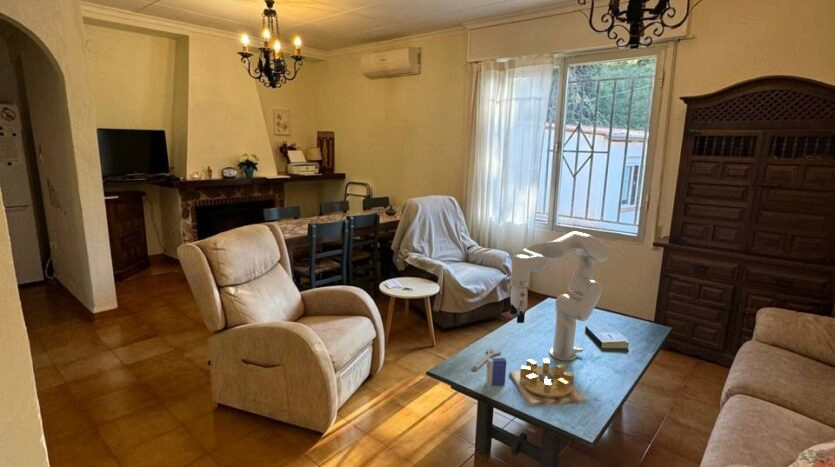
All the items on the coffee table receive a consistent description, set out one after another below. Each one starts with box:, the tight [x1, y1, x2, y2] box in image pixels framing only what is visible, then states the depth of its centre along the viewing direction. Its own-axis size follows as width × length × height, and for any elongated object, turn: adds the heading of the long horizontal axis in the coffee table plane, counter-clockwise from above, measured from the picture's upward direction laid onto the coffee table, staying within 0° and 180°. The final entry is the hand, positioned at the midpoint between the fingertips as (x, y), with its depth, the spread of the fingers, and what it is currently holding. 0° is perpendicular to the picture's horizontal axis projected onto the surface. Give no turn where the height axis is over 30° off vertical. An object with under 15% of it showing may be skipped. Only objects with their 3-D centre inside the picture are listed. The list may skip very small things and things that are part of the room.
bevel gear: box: [520, 357, 575, 399], centre depth 190 cm, size 22×22×6 cm
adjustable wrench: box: [471, 347, 502, 372], centre depth 214 cm, size 25×6×2 cm, turn 140°
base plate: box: [509, 370, 586, 407], centre depth 191 cm, size 24×24×2 cm
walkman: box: [485, 357, 507, 387], centre depth 192 cm, size 8×3×12 cm, turn 96°
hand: (516, 318), depth 199 cm, fingers open, 9 cm apart
